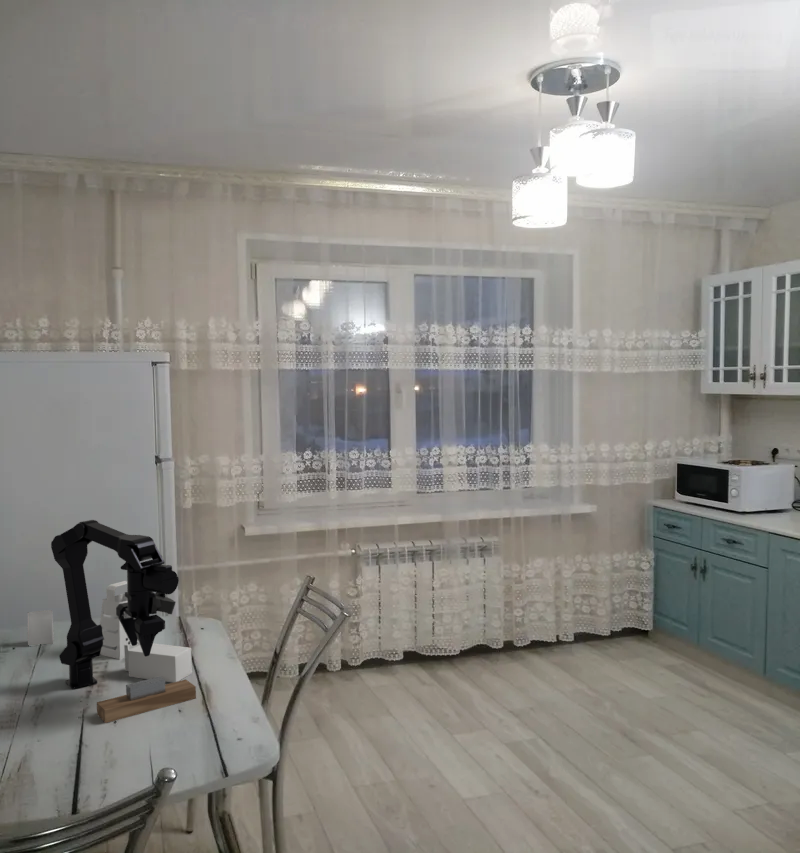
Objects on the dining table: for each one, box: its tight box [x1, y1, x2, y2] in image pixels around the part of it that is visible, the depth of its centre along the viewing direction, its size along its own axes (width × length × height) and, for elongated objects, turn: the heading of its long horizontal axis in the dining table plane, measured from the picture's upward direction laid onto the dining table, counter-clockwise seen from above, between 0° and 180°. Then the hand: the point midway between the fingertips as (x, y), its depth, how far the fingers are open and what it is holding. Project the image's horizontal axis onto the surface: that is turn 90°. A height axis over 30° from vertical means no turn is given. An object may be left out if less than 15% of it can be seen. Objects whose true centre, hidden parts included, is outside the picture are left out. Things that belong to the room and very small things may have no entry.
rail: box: [96, 679, 197, 724], centre depth 188 cm, size 6×22×3 cm, turn 128°
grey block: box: [125, 676, 166, 701], centre depth 188 cm, size 3×8×6 cm, turn 128°
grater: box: [99, 580, 139, 660], centre depth 228 cm, size 10×10×20 cm
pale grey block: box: [26, 609, 55, 646], centre depth 236 cm, size 4×7×10 cm, turn 109°
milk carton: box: [124, 642, 193, 683], centre depth 209 cm, size 7×7×19 cm
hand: (140, 650), depth 193 cm, fingers open, 9 cm apart
